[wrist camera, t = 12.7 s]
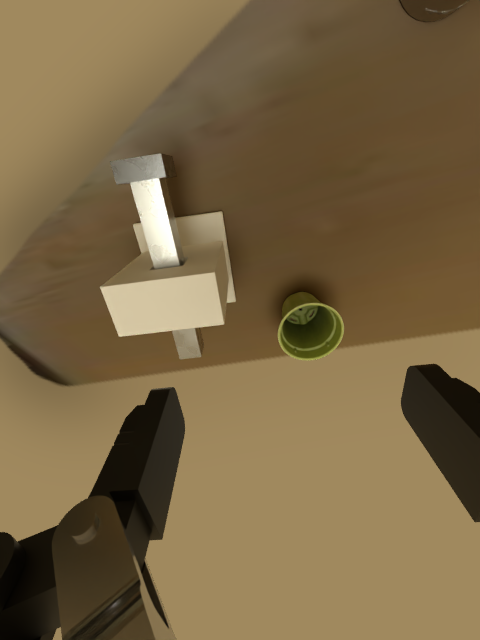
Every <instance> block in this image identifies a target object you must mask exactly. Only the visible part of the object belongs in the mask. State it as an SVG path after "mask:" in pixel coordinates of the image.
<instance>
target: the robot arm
mask: <svg viewBox="0 0 480 640" xmlns="http://www.w3.org/2000/svg"><path fill="white" fill-rule="evenodd" d="M400 1H401V3H402V5H403V7H404V9H405V10H406V11H407V12H408V14H409V15H411V16H412V17H414V18H415V19H417V20H420V21H424V22H430V21H436V20H440V19H443V18H444V17H446V16H448V15H450V14H451V13H453V12H454V11H456V10H457V9H458V8H460V7H461V6H463V5H464V4H466V3H467V2H468V1H469V0H400ZM401 407H402V411H403V414H404V416H405V418H406V420H407V421H408V423H409V424H410V426H411V427H412V429H413V430H414V432H415V433H416V435H417V436H418V438H419V439H420V441H421V442H422V444H423V445H424V447H425V448H426V450H427V451H428V453H429V454H430V456H431V457H432V459H433V460H434V462H435V463H436V465H437V466H438V468H439V469H440V471H441V472H442V474H443V475H444V477H445V478H446V480H447V481H448V482H449V484H450V485H451V487H452V489H453V490H454V492H455V493H456V495H457V496H458V498H459V499H460V500H461V502H462V504H463V505H464V507H465V508H466V510H467V511H468V513H469V514H470V516H471V517H472V519H473V520H474V522H480V393H479V392H478V391H477V390H476V389H475V388H473V387H472V386H470V385H468V384H466V383H464V382H463V381H461V380H459V379H457V378H451V377H450V376H449V375H448V374H447V373H446V372H445V371H444V370H443V369H442V368H441V367H440V366H438V365H437V364H428V365H416V366H410V367H409V368H408V369H407V373H406V378H405V383H404V388H403V393H402V398H401ZM184 434H185V423H184V417H183V413H182V410H181V406H180V403H179V400H178V396H177V393H176V390H175V388H174V387H169V388H158V389H152V390H151V391H150V393H149V395H148V398H147V400H146V403H145V405H138V406H136V407H135V408H134V409H133V411H132V412H131V413H130V414H129V415H128V416H127V417H126V418H125V421H124V423H123V425H122V427H121V429H120V433H119V434H118V436H117V438H116V440H115V442H114V446H112V449H111V451H110V453H109V455H108V457H107V459H106V461H105V464H104V466H103V468H102V470H101V472H100V474H99V476H98V479H97V481H96V483H95V485H94V487H93V489H92V492H91V493H90V495H89V497H88V499H85V500H83V501H81V502H80V503H78V504H77V505H75V506H74V507H73V508H72V509H71V510H70V511H69V512H68V513H67V514H66V515H65V516H64V518H63V519H62V520H61V522H60V523H59V525H57V526H55V527H53V528H50V529H48V530H45V531H43V532H40V533H38V534H35V535H33V536H31V537H28V538H26V539H23V540H21V541H18V542H17V541H16V540H15V539H14V538H13V537H12V536H11V535H10V534H8V533H5V532H0V640H52V639H53V637H54V634H55V631H56V629H57V628H59V627H61V633H62V640H176V637H175V635H174V633H173V630H172V628H171V625H170V623H169V620H168V617H167V614H166V612H165V609H164V606H163V604H162V601H161V598H160V596H159V593H158V590H157V588H156V585H155V582H154V580H153V577H152V574H151V572H150V569H149V566H148V564H147V561H146V559H145V556H146V551H147V547H148V544H149V540H161V539H162V538H163V533H164V528H165V524H166V519H167V514H168V510H169V505H170V500H171V495H172V491H173V486H174V481H175V477H176V472H177V467H178V463H179V458H180V453H181V449H182V444H183V439H184Z"/></svg>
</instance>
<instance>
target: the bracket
mask: <svg viewBox="0 0 480 640" xmlns="http://www.w3.org/2000/svg"><path fill="white" fill-rule="evenodd" d="M175 221H176V225H177V229H178V234H179V238H180V242H181V247H182V251H183V255H184V260H185V263H184V265H183V266H178V267H171V268H163V269H156V270H155V269H154V266H153V262H152V259H151V255H150V251H149V248H148V244H147V241H146V237H145V234H144V230H143V227H142V223H135V224H133V227H134V230H135V233H136V237H137V240H138V243H139V247H140V250H141V255H139V256H138V257H137V258H136V259H134V260H133V261H132V262H131V263H129V264H128V265H127V266H126V267H124V268H123V269H122V270H121V271H120V272H118V273H117V274H116V275H115V276H113V277H112V278H111V279H110V280H108V281H107V282H106V283H105V284H103V285H102V286H101V287H100V288H101V291H102V294H103V296H104V299H105V301H106V304H107V306H108V309H109V312H110V314H111V317H112V319H113V322H114V324H115V327H116V330H117V332H118V335H119V337H122V336H130V335H138V334H147V333H155V332H164V331H172V330H181V329H189V328H198V327H206V326H215V325H223V324H224V322H225V312H226V303H230V302H236V297H235V291H234V284H233V278H232V271H231V265H230V258H229V252H228V245H227V239H226V232H225V226H224V219H223V213H222V211H218V212H211V213H204V214H197V215H190V216H183V217H176V218H175Z"/></svg>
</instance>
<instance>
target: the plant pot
mask: <svg viewBox="0 0 480 640" xmlns="http://www.w3.org/2000/svg"><path fill="white" fill-rule="evenodd" d="M300 308H302V310H301V311H300V310H299V309H300ZM313 311H314V313H313V315H312V316H311V317H309V316H310V315H311V313H312V312H313ZM290 318H292V319H294V320H297V321H296V322H295V321H292V320H290ZM343 333H344V324H343V320H342V318H341V316H340V315H339V313H338V312H337V311H336V310H335V309H333V308H332V307H330V306H328V305H326V304H323V303H321V302H319V301H318V300H317V299H316V298H315V297H314V296H313V295H311V294H310V293H307V292H298V293H295V294H292V295H290V296H289V297H288V298H287V299H286V300H285V301H284V303H283V306H282V320H281V323H280V325H279V328H278V341H279V344H280V346H281V348H282V349H283V351H284V352H285V353H287V354H288V355H289V356H291V357H293V358H296V359H299V360H316V359H319V358H322V357H324V356H326V355H328V354H329V353H331V352H332V351H333V350H334V349H335V348H336V347H337V346H338V345H339V343H340V342H341V340H342V337H343Z"/></svg>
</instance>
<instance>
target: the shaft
mask: <svg viewBox="0 0 480 640" xmlns="http://www.w3.org/2000/svg"><path fill="white" fill-rule="evenodd" d="M110 164H111V167H112V171H113V174H114V177H115V181H116V184H129V183H130V184H131V188H132V192H133V195H134V199H135V202H136V206H137V209H138V213H139V216H140V220H141V223H142V227H143V230H144V234H145V237H146V241H147V244H148V248H149V251H150V255H151V259H152V262H153V266H154V269H155V270H156V269H163V268H171V267H178V266H183V265H184V263H185V260H184V255H183V251H182V247H181V242H180V238H179V234H178V229H177V225H176V221H175V216H174V212H173V207H172V203H171V199H170V194H169V190H168V186H167V181H166V178H170V177H176V172H175V167H174V163H173V158H172V156H169V155H165V154H161V153H160V154H154V155H147V156H141V157H135V158H128V159H122V160H116V161H110ZM172 333H173V336H174V340H175V343H176V347H177V350H178V354H179V357H180V359H187V358H196V357H202V352H203V347H204V343H203V338H202V334H201V330H200V327H198V328H189V329H181V330H172Z"/></svg>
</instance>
